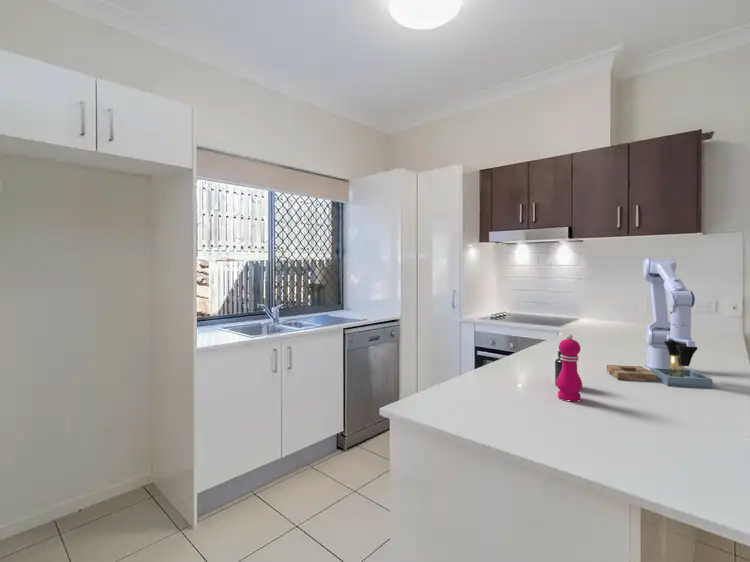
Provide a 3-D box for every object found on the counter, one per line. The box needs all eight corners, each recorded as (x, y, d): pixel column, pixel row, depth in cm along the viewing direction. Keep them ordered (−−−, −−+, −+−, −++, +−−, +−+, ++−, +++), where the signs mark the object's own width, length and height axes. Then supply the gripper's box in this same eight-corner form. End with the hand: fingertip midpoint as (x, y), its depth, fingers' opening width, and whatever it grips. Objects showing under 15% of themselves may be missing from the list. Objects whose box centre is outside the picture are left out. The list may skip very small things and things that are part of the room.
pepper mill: (585, 403, 118) (586, 336, 117) (559, 401, 119) (559, 336, 119) (578, 395, 125) (578, 332, 124) (553, 394, 126) (554, 332, 126)
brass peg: (668, 376, 142) (668, 354, 141) (681, 377, 140) (682, 355, 140) (671, 379, 138) (672, 356, 137) (685, 380, 136) (686, 357, 136)
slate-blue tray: (650, 375, 147) (650, 367, 146) (690, 377, 144) (690, 369, 143) (667, 385, 134) (667, 377, 134) (712, 388, 131) (712, 379, 131)
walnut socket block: (606, 371, 153) (606, 364, 153) (641, 372, 150) (641, 366, 150) (618, 379, 141) (618, 373, 141) (656, 381, 139) (656, 374, 139)
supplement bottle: (572, 383, 137) (572, 349, 137) (580, 389, 131) (580, 353, 130) (551, 383, 138) (552, 349, 138) (559, 389, 131) (559, 353, 131)
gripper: (657, 321, 146) (657, 358, 146) (678, 327, 132) (677, 368, 132) (679, 322, 144) (679, 359, 145) (702, 328, 130) (701, 369, 131)
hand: (679, 363), depth 139 cm, fingers open, 6 cm apart
